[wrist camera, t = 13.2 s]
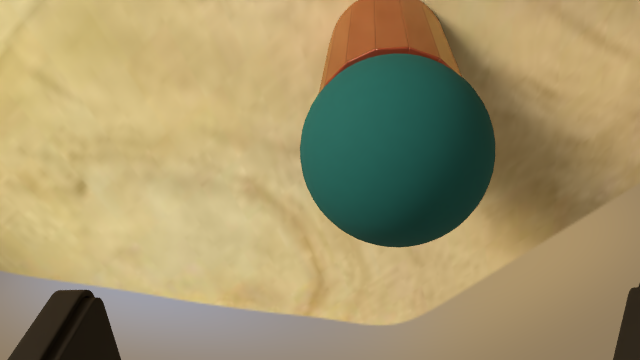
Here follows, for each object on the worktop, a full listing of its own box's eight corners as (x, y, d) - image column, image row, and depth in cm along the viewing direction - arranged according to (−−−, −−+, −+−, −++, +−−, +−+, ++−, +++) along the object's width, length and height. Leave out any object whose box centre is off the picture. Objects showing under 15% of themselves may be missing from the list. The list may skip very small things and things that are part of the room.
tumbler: (333, 104, 30) (321, 194, 22) (326, -6, 27) (309, 51, 19) (442, 100, 29) (469, 191, 21) (446, -13, 27) (478, 43, 19)
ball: (316, 189, 23) (298, 287, 18) (303, 34, 20) (277, 99, 15) (474, 185, 22) (504, 287, 17) (484, 26, 19) (524, 89, 14)
